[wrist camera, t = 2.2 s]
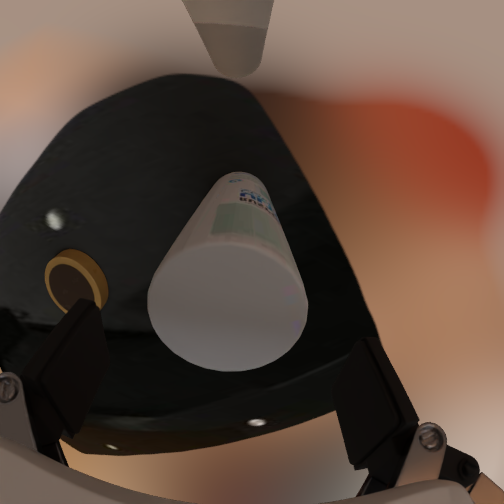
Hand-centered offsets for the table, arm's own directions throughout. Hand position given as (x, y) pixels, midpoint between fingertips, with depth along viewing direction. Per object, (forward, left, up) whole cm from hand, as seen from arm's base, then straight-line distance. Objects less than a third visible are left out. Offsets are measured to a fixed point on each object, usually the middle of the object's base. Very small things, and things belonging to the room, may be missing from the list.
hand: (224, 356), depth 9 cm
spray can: (0, 0, -22) cm, 22 cm away
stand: (+14, -21, -22) cm, 33 cm away
